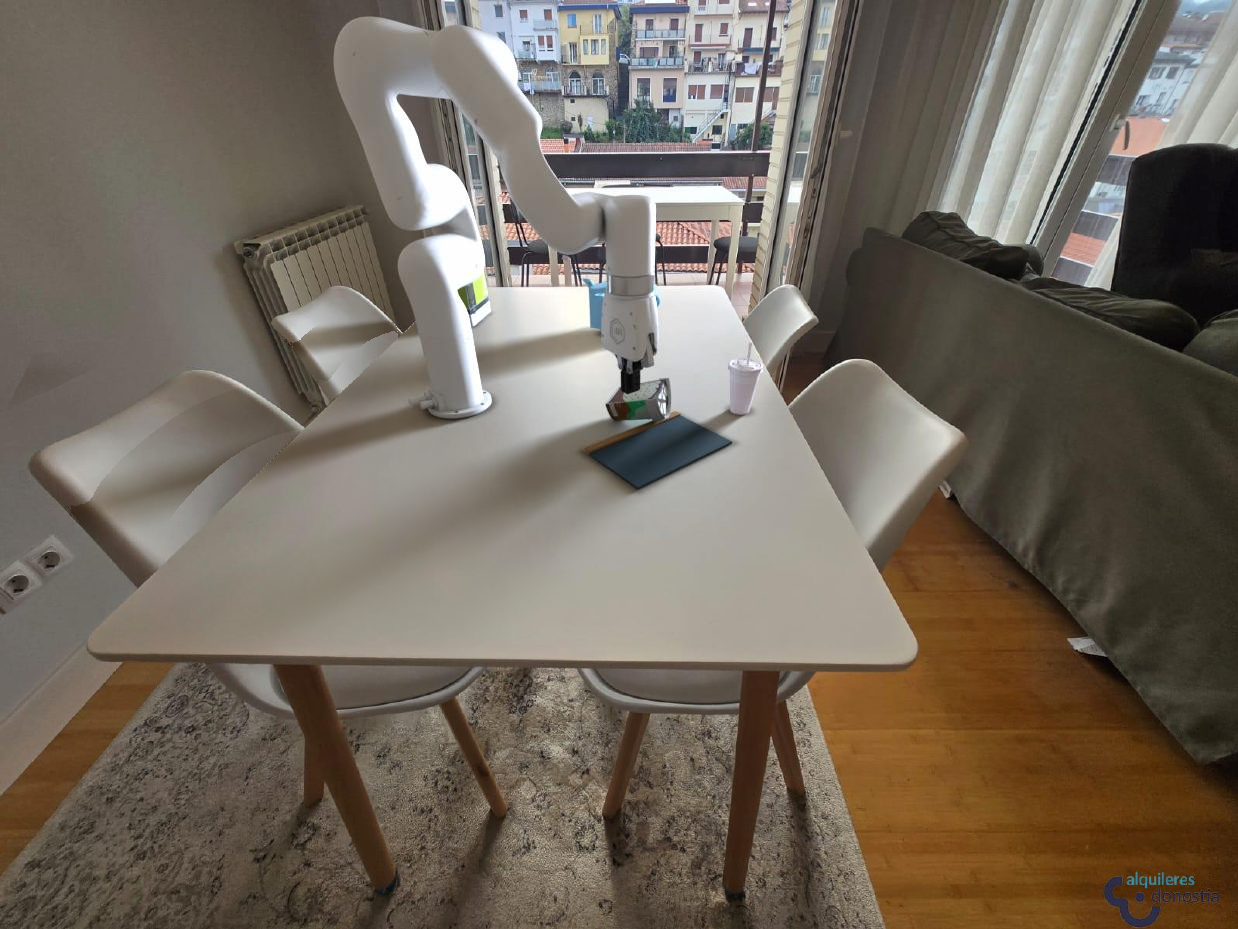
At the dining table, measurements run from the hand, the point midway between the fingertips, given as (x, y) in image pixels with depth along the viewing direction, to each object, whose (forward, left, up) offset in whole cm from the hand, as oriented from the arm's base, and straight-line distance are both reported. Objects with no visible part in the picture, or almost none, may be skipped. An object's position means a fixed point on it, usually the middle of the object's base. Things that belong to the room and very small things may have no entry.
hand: (630, 390), depth 90 cm
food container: (+1, +6, -6) cm, 8 cm away
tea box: (+6, +85, -8) cm, 85 cm away
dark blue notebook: (0, -9, -8) cm, 12 cm away
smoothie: (+22, -7, -8) cm, 25 cm away
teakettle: (+34, +46, -8) cm, 57 cm away
